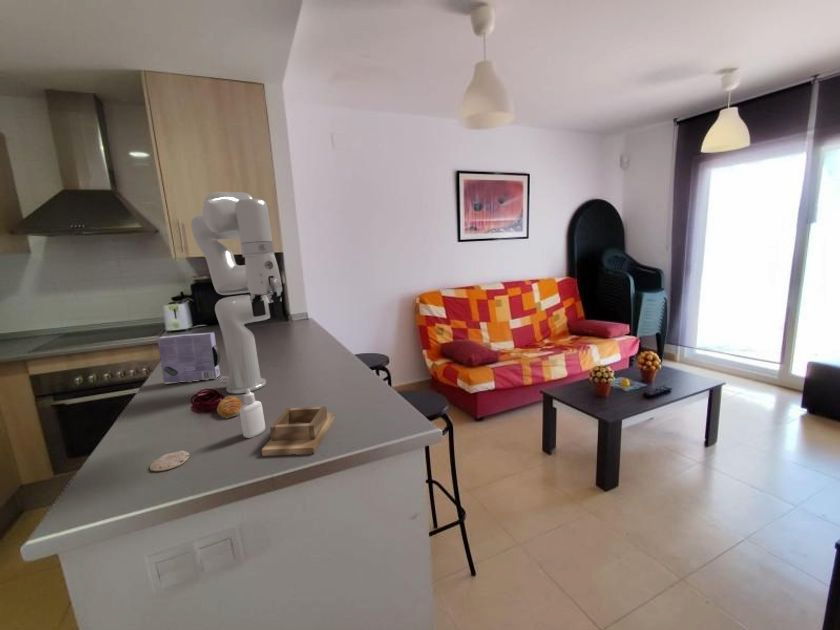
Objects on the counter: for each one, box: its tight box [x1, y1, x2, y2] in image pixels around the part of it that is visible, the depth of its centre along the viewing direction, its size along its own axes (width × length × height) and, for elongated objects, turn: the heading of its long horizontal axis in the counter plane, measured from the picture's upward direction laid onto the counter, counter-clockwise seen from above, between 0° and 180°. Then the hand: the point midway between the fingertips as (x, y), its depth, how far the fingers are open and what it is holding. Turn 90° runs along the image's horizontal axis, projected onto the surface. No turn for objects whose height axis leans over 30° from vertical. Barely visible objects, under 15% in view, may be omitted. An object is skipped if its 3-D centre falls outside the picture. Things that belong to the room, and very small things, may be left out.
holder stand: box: [261, 406, 336, 457], centre depth 95 cm, size 12×18×5 cm, turn 178°
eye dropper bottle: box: [239, 389, 266, 439], centre depth 97 cm, size 4×6×12 cm
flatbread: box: [149, 449, 190, 472], centre depth 88 cm, size 8×8×1 cm
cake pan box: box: [157, 331, 221, 384], centre depth 142 cm, size 19×5×18 cm, turn 100°
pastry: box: [216, 396, 244, 419], centre depth 112 cm, size 9×7×4 cm
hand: (268, 316), depth 100 cm, fingers open, 9 cm apart
